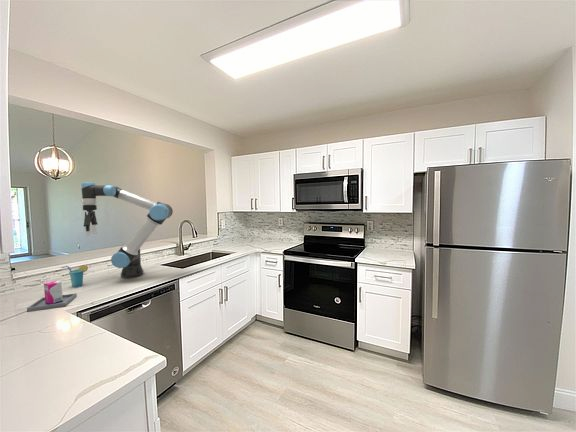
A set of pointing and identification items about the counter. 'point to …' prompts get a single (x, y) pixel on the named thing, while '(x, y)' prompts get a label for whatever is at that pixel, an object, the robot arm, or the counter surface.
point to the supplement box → (53, 292)
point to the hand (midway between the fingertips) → (91, 234)
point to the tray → (42, 305)
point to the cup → (77, 275)
